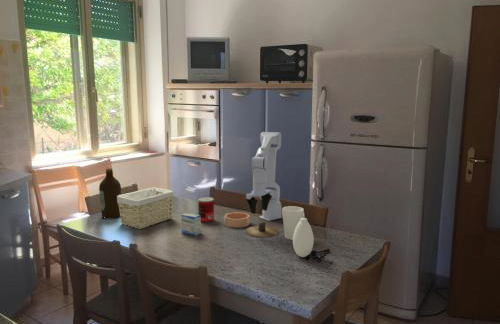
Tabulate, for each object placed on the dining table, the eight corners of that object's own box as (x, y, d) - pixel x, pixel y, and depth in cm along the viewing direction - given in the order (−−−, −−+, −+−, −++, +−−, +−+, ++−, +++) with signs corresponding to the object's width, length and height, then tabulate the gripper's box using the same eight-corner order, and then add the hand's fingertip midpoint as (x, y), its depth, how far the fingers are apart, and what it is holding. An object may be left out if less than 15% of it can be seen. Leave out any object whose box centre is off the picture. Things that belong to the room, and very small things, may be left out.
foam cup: (301, 241, 182) (302, 212, 180) (280, 240, 184) (280, 211, 182) (303, 234, 192) (304, 206, 190) (283, 233, 193) (283, 205, 191)
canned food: (215, 218, 217) (215, 197, 215) (212, 222, 209) (212, 201, 207) (200, 217, 217) (200, 196, 216) (197, 222, 210) (196, 200, 208)
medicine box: (181, 233, 193) (180, 214, 192) (187, 230, 197) (186, 212, 196) (195, 235, 190) (195, 217, 188) (201, 233, 193) (200, 214, 192)
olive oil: (119, 212, 226) (117, 166, 222) (124, 217, 217) (121, 169, 213) (99, 215, 221) (96, 168, 217) (102, 220, 212) (99, 171, 208)
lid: (264, 225, 206) (264, 215, 205) (284, 233, 194) (285, 223, 193) (239, 231, 197) (239, 221, 196) (259, 240, 185) (259, 229, 184)
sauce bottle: (299, 251, 171) (300, 208, 168) (316, 255, 166) (317, 211, 163) (288, 256, 165) (289, 212, 162) (306, 261, 160) (307, 215, 158)
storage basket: (138, 231, 196) (137, 200, 194) (116, 224, 206) (115, 195, 203) (175, 219, 215) (175, 190, 213) (154, 213, 225) (153, 186, 223)
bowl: (239, 218, 216) (239, 211, 215) (254, 224, 206) (254, 216, 206) (220, 222, 209) (220, 215, 208) (234, 229, 199) (234, 220, 199)
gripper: (263, 179, 200) (263, 207, 202) (241, 183, 190) (241, 213, 192) (274, 181, 195) (274, 210, 197) (252, 186, 185) (252, 216, 187)
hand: (259, 211), depth 194 cm, fingers open, 7 cm apart
